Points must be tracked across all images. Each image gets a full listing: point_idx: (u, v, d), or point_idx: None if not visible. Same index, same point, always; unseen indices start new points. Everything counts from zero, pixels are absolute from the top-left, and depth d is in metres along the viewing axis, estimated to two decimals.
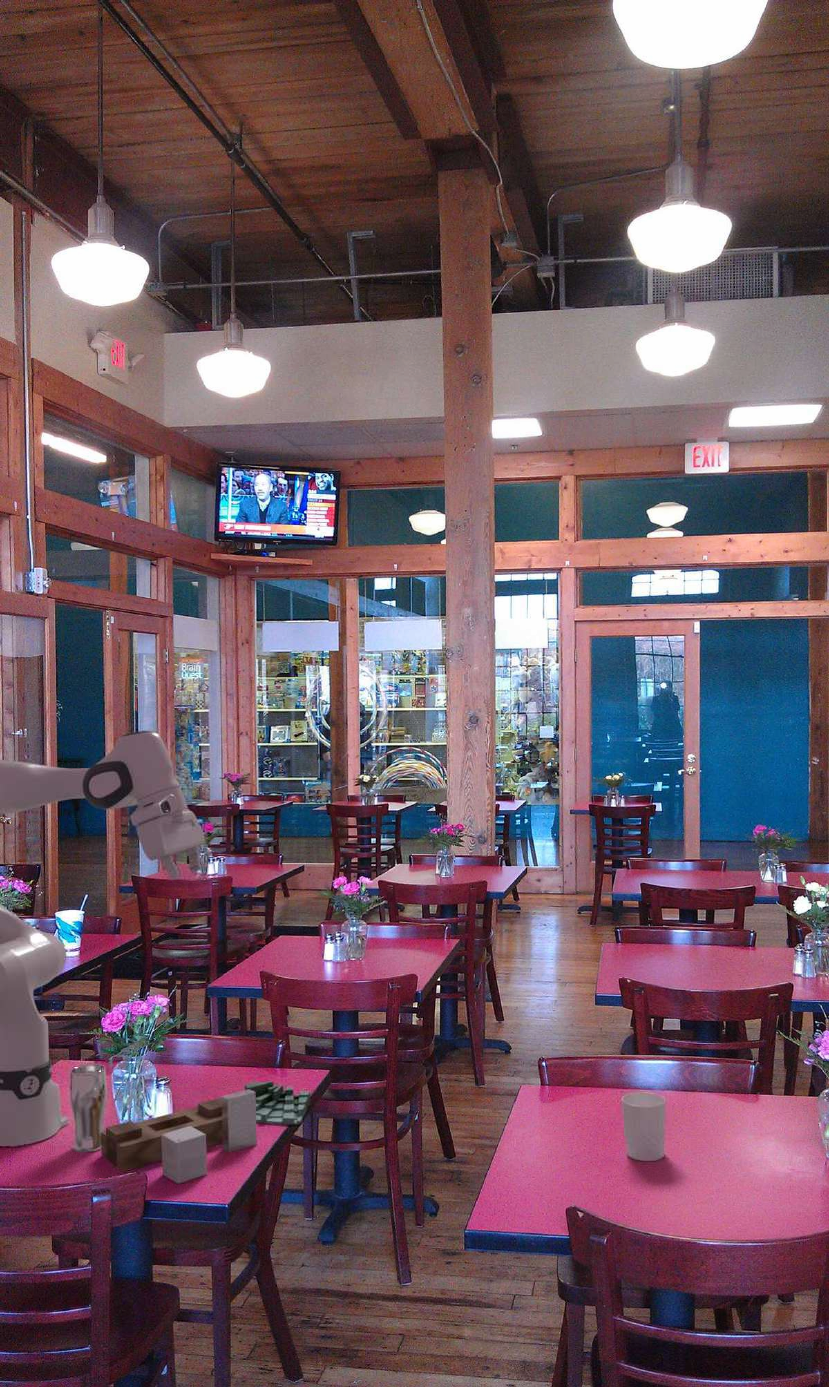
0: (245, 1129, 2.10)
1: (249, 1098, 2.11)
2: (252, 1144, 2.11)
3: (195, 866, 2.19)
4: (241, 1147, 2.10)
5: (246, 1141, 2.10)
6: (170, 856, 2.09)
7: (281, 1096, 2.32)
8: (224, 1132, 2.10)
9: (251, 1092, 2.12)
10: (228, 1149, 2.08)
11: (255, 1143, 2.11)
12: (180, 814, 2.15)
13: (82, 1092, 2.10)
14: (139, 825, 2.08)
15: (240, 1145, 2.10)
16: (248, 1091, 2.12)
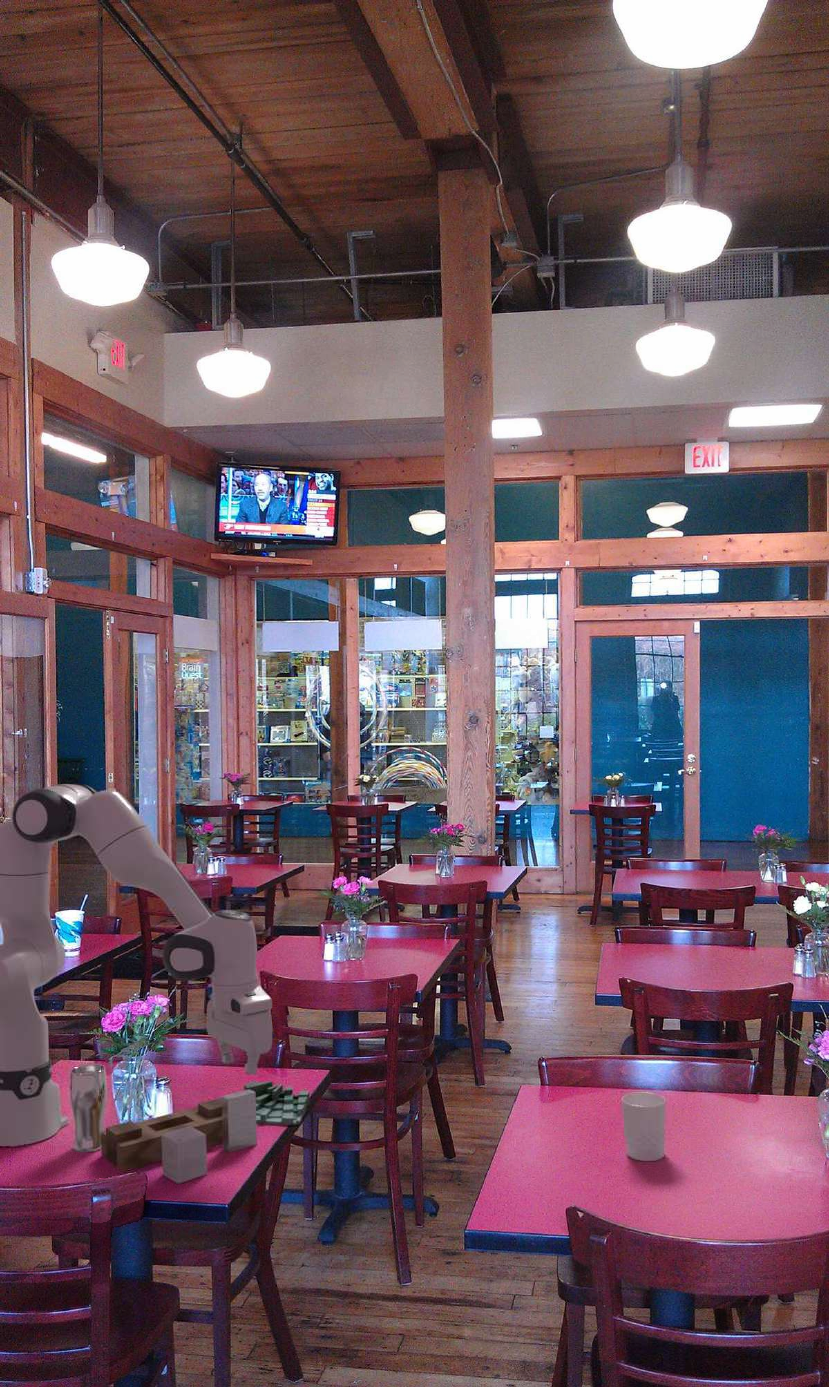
0: (245, 1129, 2.10)
1: (249, 1098, 2.11)
2: (252, 1144, 2.11)
3: (230, 1057, 2.15)
4: (241, 1147, 2.10)
5: (246, 1141, 2.10)
6: None
7: (280, 1096, 2.32)
8: (224, 1132, 2.10)
9: (251, 1092, 2.12)
10: (228, 1149, 2.08)
11: (255, 1143, 2.11)
12: None
13: (82, 1092, 2.10)
14: (249, 1016, 2.04)
15: (240, 1145, 2.10)
16: (248, 1091, 2.12)
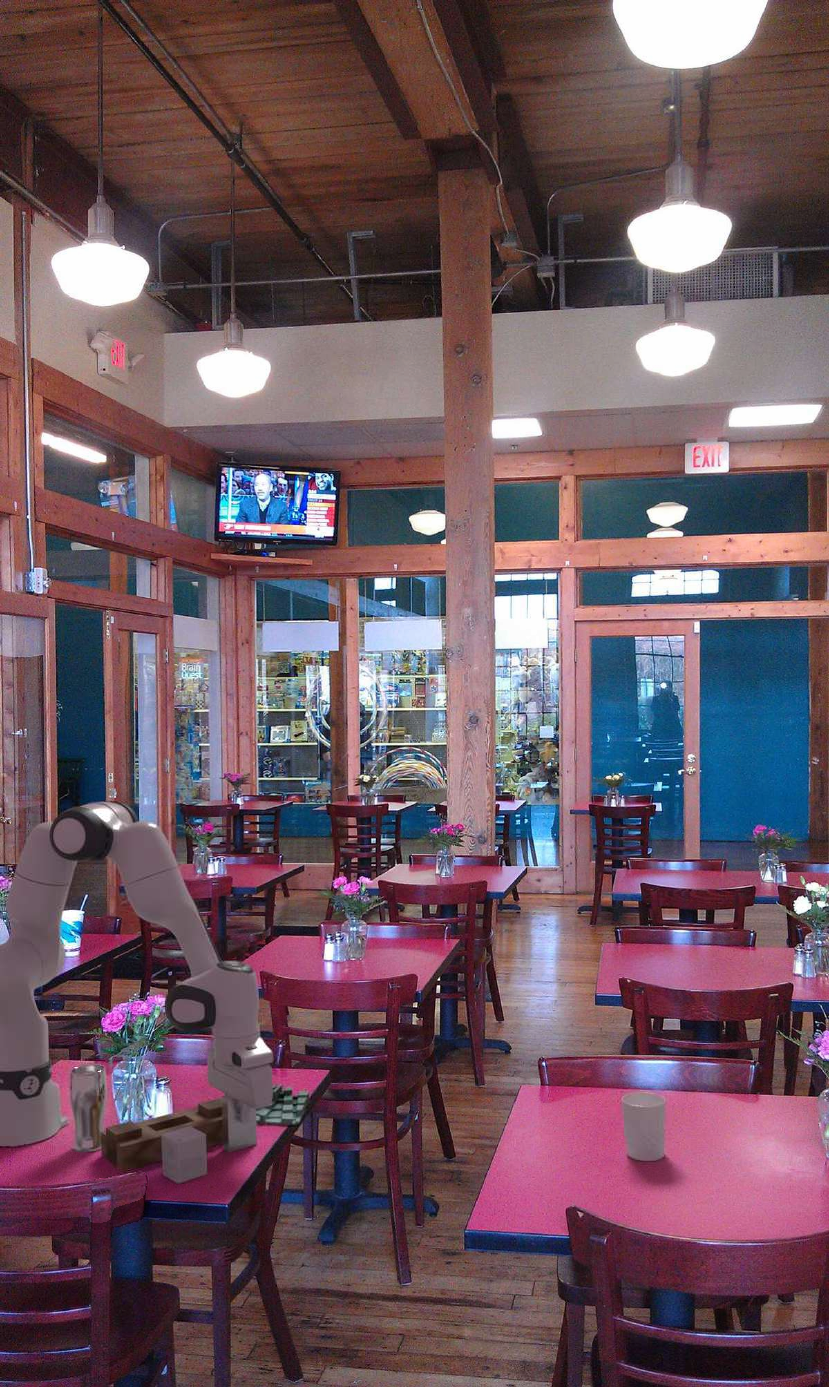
0: (245, 1129, 2.10)
1: None
2: (252, 1144, 2.11)
3: None
4: (241, 1147, 2.10)
5: (246, 1141, 2.10)
6: None
7: (280, 1096, 2.32)
8: (224, 1132, 2.10)
9: None
10: (228, 1149, 2.08)
11: (255, 1143, 2.11)
12: None
13: (82, 1092, 2.10)
14: (250, 1070, 2.03)
15: (240, 1145, 2.10)
16: None
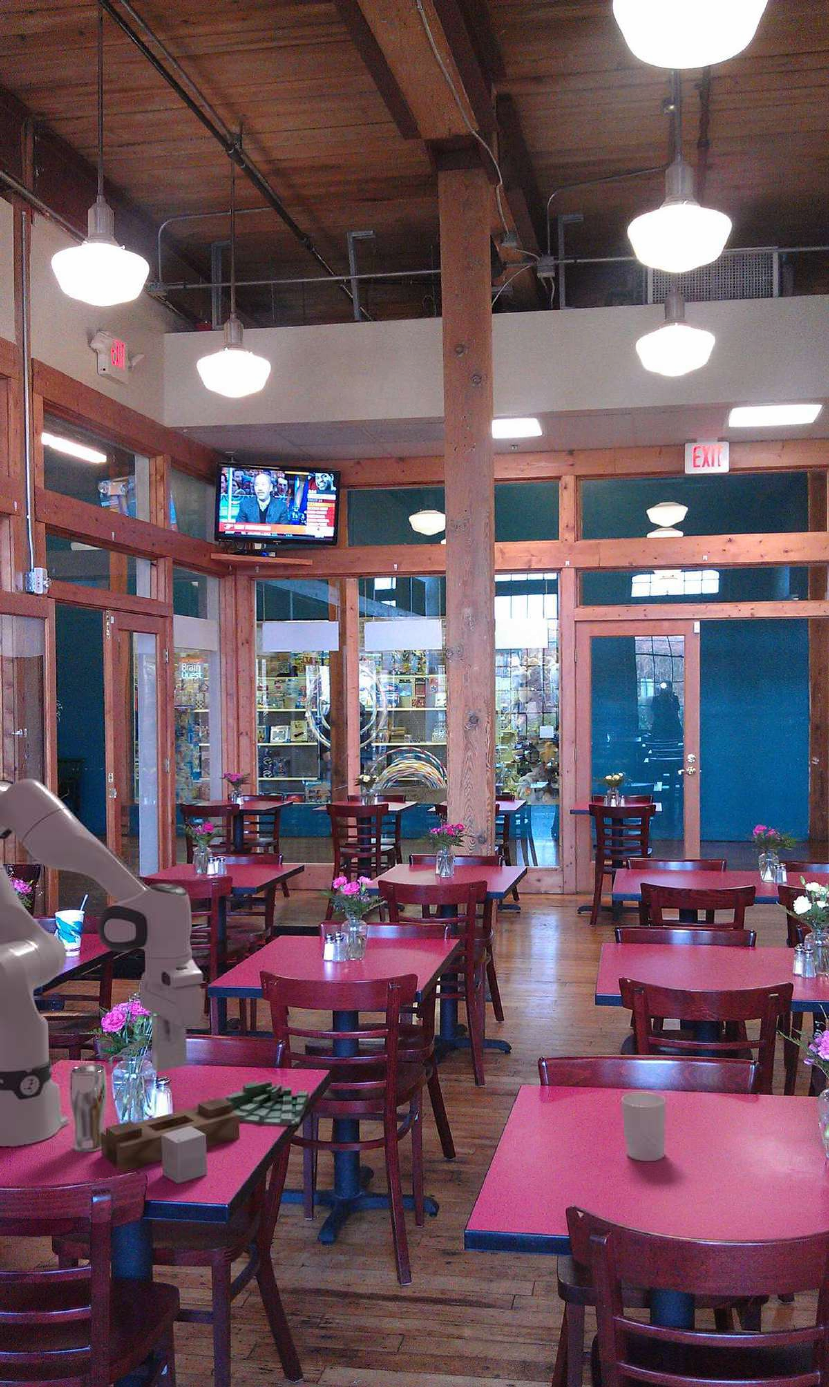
0: (175, 1050, 2.12)
1: None
2: (181, 1065, 2.13)
3: None
4: (170, 1067, 2.11)
5: (175, 1061, 2.12)
6: None
7: (279, 1096, 2.32)
8: (153, 1052, 2.11)
9: None
10: (157, 1068, 2.10)
11: (185, 1064, 2.13)
12: None
13: (82, 1092, 2.10)
14: (179, 989, 2.05)
15: (169, 1065, 2.11)
16: None
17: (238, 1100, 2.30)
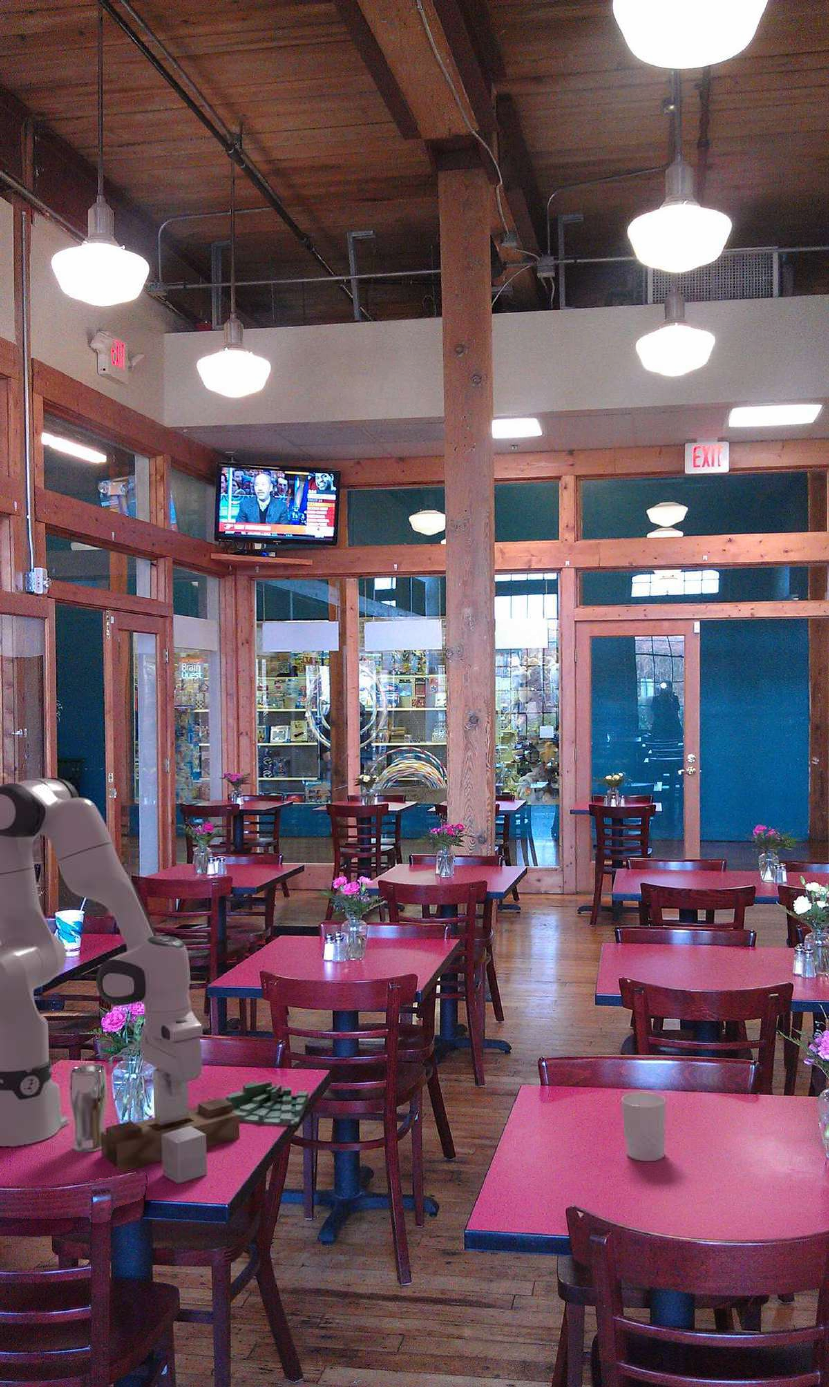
0: (176, 1102, 2.12)
1: None
2: (184, 1117, 2.12)
3: None
4: (172, 1120, 2.11)
5: (177, 1114, 2.12)
6: None
7: (279, 1096, 2.32)
8: (155, 1106, 2.11)
9: None
10: (159, 1122, 2.09)
11: (187, 1116, 2.13)
12: None
13: (82, 1092, 2.10)
14: (178, 1043, 2.05)
15: (171, 1118, 2.11)
16: None
17: (238, 1100, 2.30)
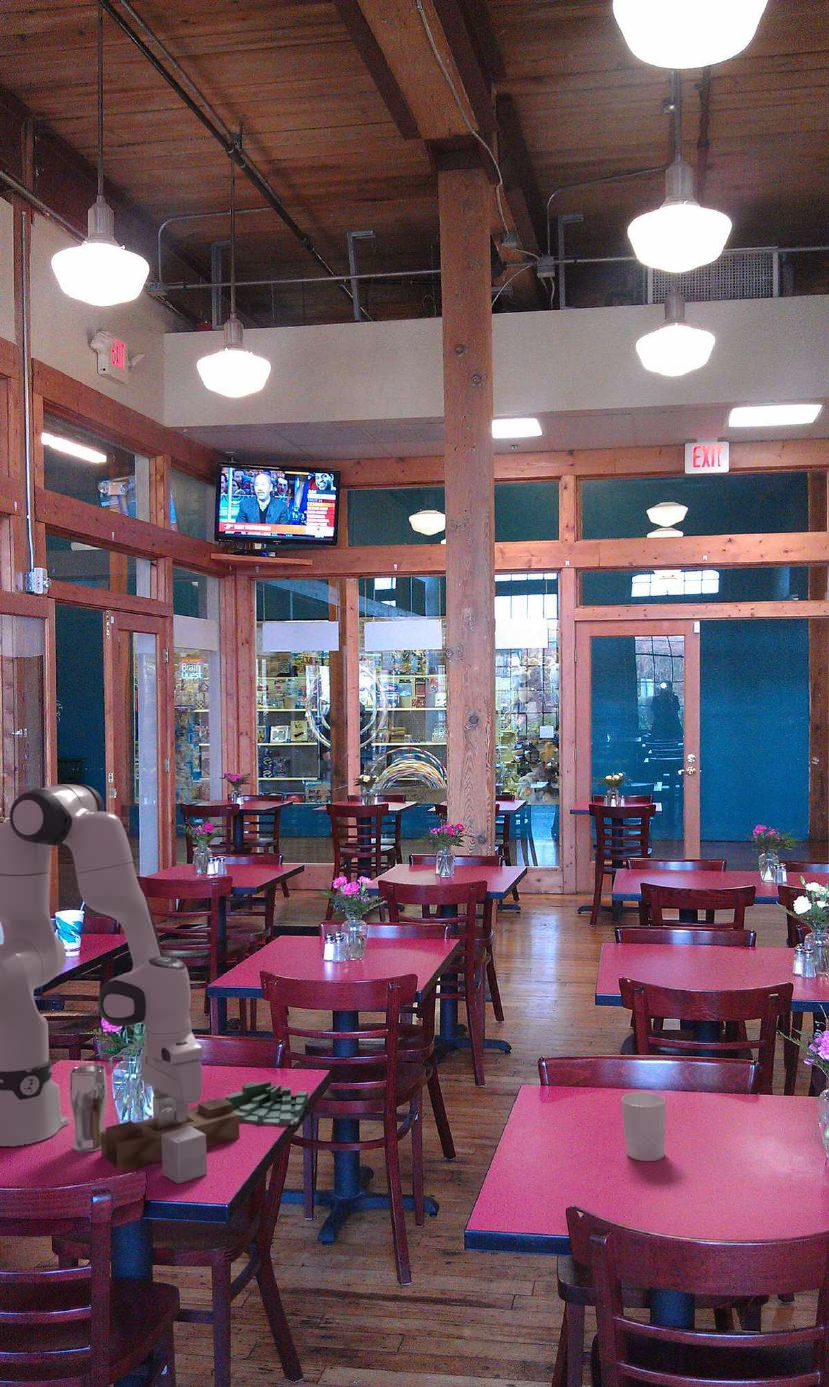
0: None
1: None
2: None
3: None
4: None
5: None
6: None
7: (279, 1096, 2.32)
8: None
9: None
10: None
11: None
12: None
13: (82, 1092, 2.10)
14: (179, 1065, 2.05)
15: None
16: None
17: (238, 1100, 2.30)
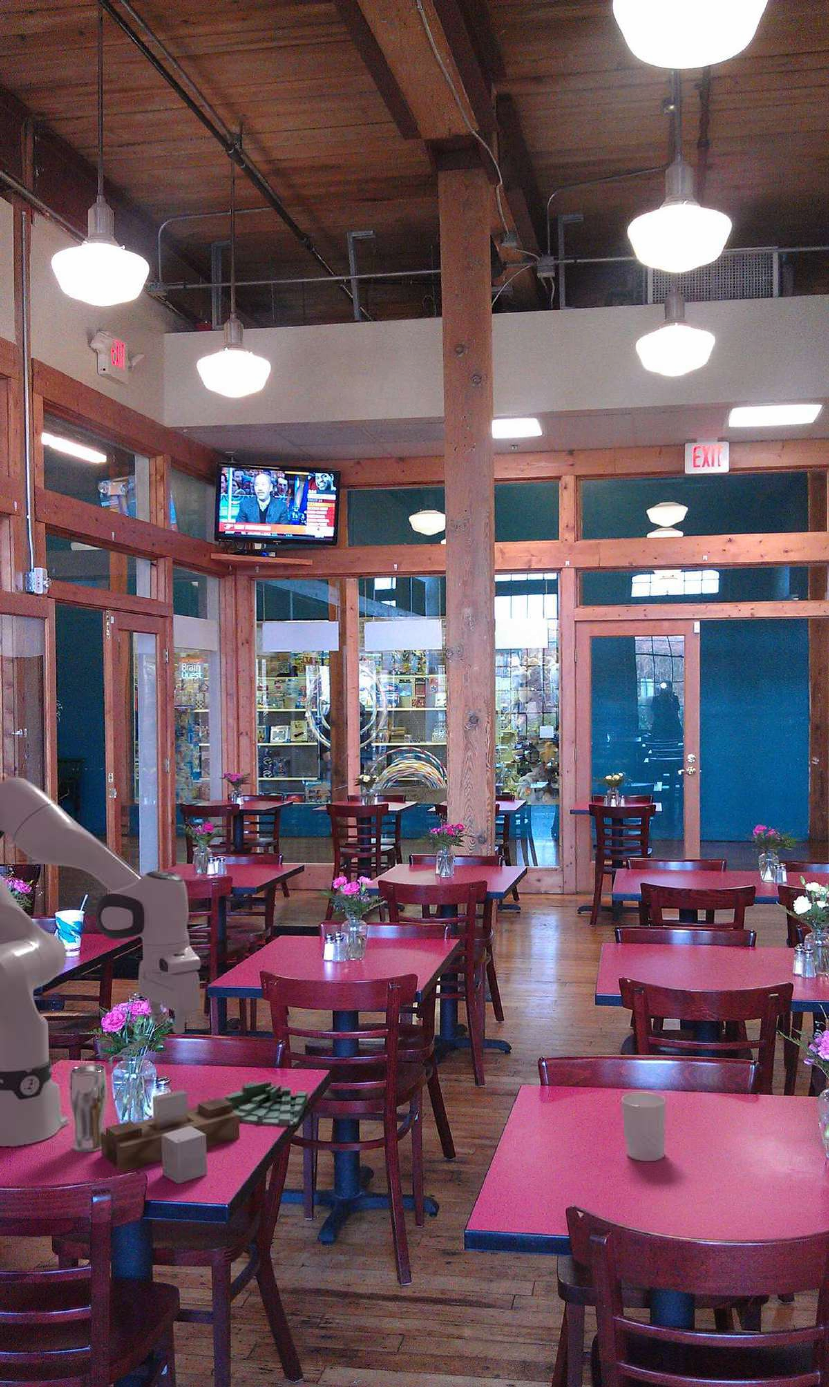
0: None
1: (181, 1098, 2.12)
2: None
3: (160, 1017, 2.16)
4: None
5: None
6: None
7: (278, 1096, 2.32)
8: None
9: (183, 1092, 2.13)
10: None
11: None
12: None
13: (82, 1092, 2.10)
14: (176, 975, 2.05)
15: None
16: (180, 1091, 2.14)
17: (237, 1100, 2.30)
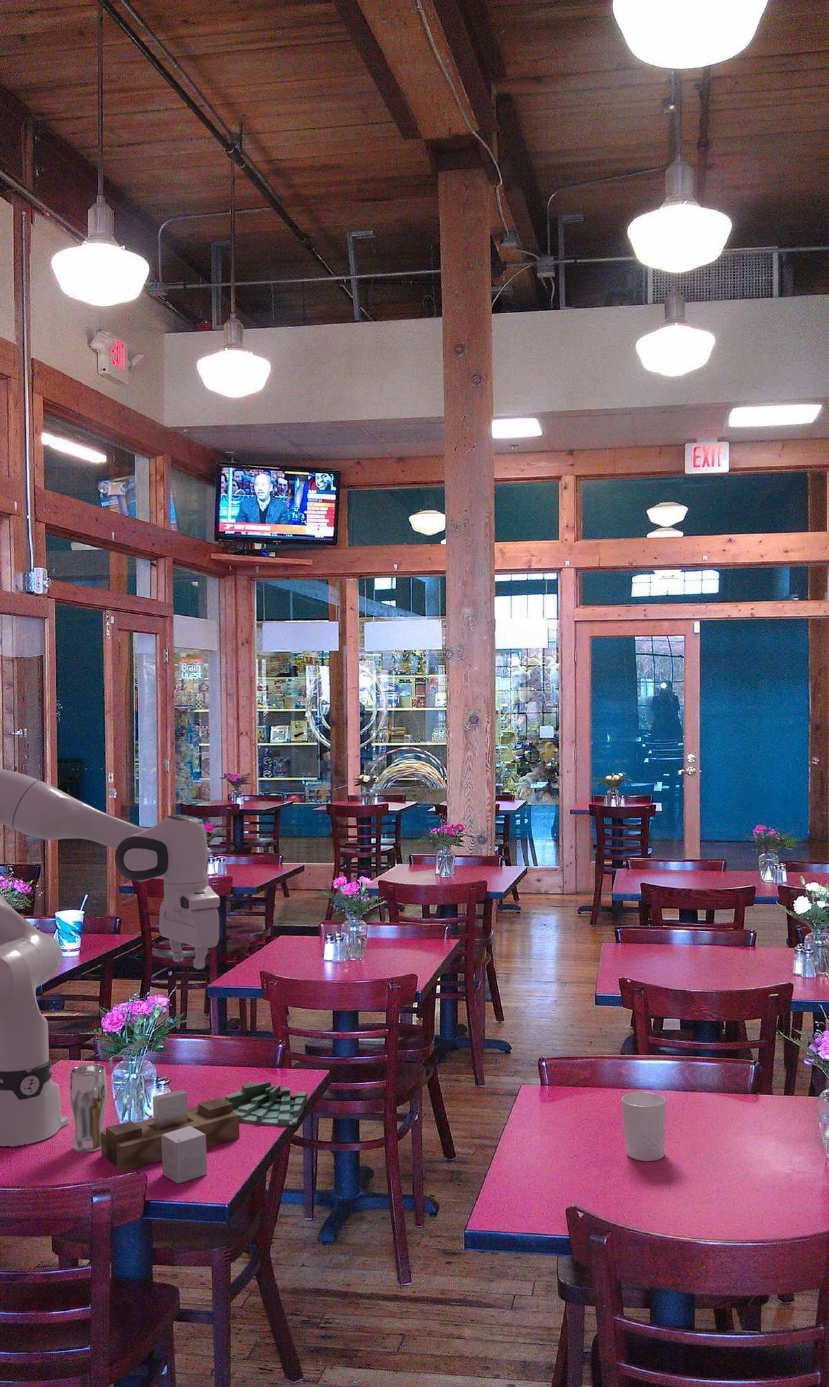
0: None
1: (181, 1098, 2.12)
2: None
3: (181, 956, 2.25)
4: None
5: None
6: None
7: (278, 1097, 2.32)
8: None
9: (183, 1092, 2.13)
10: None
11: None
12: None
13: (82, 1092, 2.10)
14: (197, 911, 2.14)
15: None
16: (180, 1091, 2.14)
17: (237, 1100, 2.30)
